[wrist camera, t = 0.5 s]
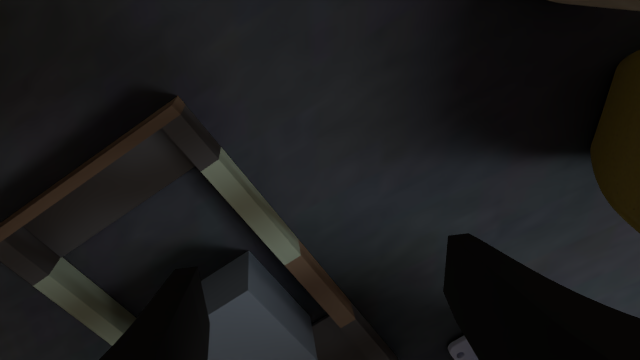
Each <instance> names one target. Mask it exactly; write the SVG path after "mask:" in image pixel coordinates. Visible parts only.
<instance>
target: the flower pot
mask: <svg viewBox="0 0 640 360" xmlns="http://www.w3.org/2000/svg"><path fill="white" fill-rule="evenodd" d="M590 154H591V161H592V167H593V171H594V174H595V177H596V180H597V183H598V185H599V187H600V189H601V191H602V193H603V195H604V196H605V198H606V199H607V201H608V202H609V204H610V205H611V206H612V208H613V209H614V210H615V211H616V212H617V213H618V214H619V215H620V216H621V217H622V218H623V219H624V220H625V221H626V222H627V223H628V224H630V225H631V226H632V227H633V228H634V229H635V230H636V231H638V232H639V233H640V50H638V51H636V52H634V53H632V54H630V55H629V56H627V57H626V58H624V59H623V60H622V61H621V62H620V63H619V64H618V66H617V68H616V70H615V73H614V77H613V80H612V83H611V86H610V89H609V92H608V96H607V99H606V102H605V105H604V108H603V111H602V114H601V117H600V120H599V123H598V126H597V129H596V132H595V135H594V138H593V141H592V144H591V148H590Z"/></svg>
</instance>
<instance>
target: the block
mask: <svg viewBox="0 0 640 360" xmlns="http://www.w3.org/2000/svg"><path fill="white" fill-rule="evenodd" d="M201 284H202V289H203V293H204V298H205V303H206V307H207V312H208V316H209V321H210V332H209V350H208V360H317V354H316V348H315V342H314V336H313V330H312V324H311V317H310V316H309V315H308V313H307V312H306V311H305V310H304V309H303V308H302V307H301V306H300V305H299V304H298V303H297V302H296V301H295V300H294V298H293V297H292V296H291V295H290V294H289V293H288V292H287V291H286V290H285V289H284V288H283V287H282V286H281V284H280V283H279V282H278V281H277V280H276V279H275V278H274V277H273V276H272V275H271V274H270V273H269V272H268V271H267V269H266V268H265V267H264V266H263V265H262V264H261V263H260V262H259V261H258V260H257V259H256V258H255V257H254V255H253V254H252V253H251V252H250V251H247V252H246V253H244V254H242V255H241V256H239V257H238V258H236V259H235V260H233V261H232V262H230V263H228V264H227V265H225V266H224V267H222V268H221V269H219V270H217V271H216V272H214V273H213V274H211V275H210V276H208V277H207V278H205V279H203V280H202V281H201Z"/></svg>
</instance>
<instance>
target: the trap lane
mask: <svg viewBox="0 0 640 360" xmlns="http://www.w3.org/2000/svg"><path fill="white" fill-rule="evenodd" d="M195 166H196V167H197V168H198V169H199V170H200V171H201V173H202V174H203V175H204V176H205V177H206V178H207V179H208V180H209V181H210V183H211V184H212V185H213V186H214V187H215V188H216V189H217V190H218V192H219V193H220V194H221V195H222V196H223V197H224V198H225V199H226V200H227V202H228V203H229V204H230V205H231V206H232V207H233V208H234V209H235V211H236V212H237V213H238V214H239V215H240V216H241V217H242V218H243V220H244V221H245V222H246V223H247V224H248V225H249V226H250V227H251V228H252V230H253V231H254V232H255V233H256V234H257V235H258V236H259V237H260V239H261V240H262V241H263V242H264V243H265V244H266V245H267V246H268V247H269V249H270V250H271V251H272V252H273V253H274V254H275V255H276V256H277V258H278V259H279V260H280V261H281V262H282V263H283V264H284V265H285V266H286V268H287V269H288V270H289V271H290V272H291V273H292V274H293V275H294V277H295V278H296V279H297V280H298V281H299V282H300V283H301V284H302V286H303V287H304V288H305V289H306V290H307V291H308V292H309V293H310V294H311V296H312V297H313V298H314V299H315V300H316V301H317V302H318V303H319V305H320V306H321V307H322V308H323V309H324V310H325V311H326V312H327V313H328V315H326V316H325V317H323V318H321V319H320V320H318V321H316V322H315V323H313V324H312V330H313V336H314V342H315V348H316V354H317V360H398V358H397V356H396V355H395V354H394V353H393V352H392V350H391V349H390V348H389V347H388V346H387V344H386V343H385V342H384V341H383V340H382V338H381V337H380V336H379V335H378V334H377V332H376V331H375V330H374V329H373V328H372V326H371V325H370V324H369V323H368V322H367V321H366V319H365V318H364V317H363V316H362V315H361V313H360V312H359V311H358V310H357V309H356V307H355V306H354V305H353V304H352V303H351V301H350V300H349V299H348V298H347V297H346V295H345V294H344V293H343V292H342V291H341V290H340V288H339V287H338V286H337V285H336V284H335V282H334V281H333V280H332V279H331V278H330V276H329V275H328V274H327V273H326V272H325V270H324V269H323V268H322V267H321V266H320V264H319V263H318V262H317V261H316V260H315V259H314V257H313V256H312V255H311V254H310V253H309V251H308V250H307V249H306V248H305V247H304V245H303V244H302V243H301V242H300V241H299V239H298V238H297V237H296V236H295V235H294V233H293V232H292V231H291V230H290V229H289V228H288V226H287V225H286V224H285V223H284V222H283V220H282V219H281V218H280V217H279V216H278V214H277V213H276V212H275V211H274V210H273V208H272V207H271V206H270V205H269V204H268V202H267V201H266V200H265V199H264V198H263V197H262V195H261V194H260V193H259V192H258V191H257V189H256V188H255V187H254V186H253V185H252V183H251V182H250V181H249V180H248V179H247V177H246V176H245V175H244V174H243V173H242V171H241V170H240V169H239V168H238V167H237V166H236V164H235V163H234V162H233V161H232V160H231V158H230V157H229V156H228V155H227V154H226V152H225V151H224V150H223V149H222V148H221V146H220V145H219V144H218V143H217V142H216V141H215V139H214V138H213V137H212V136H211V135H210V133H209V132H208V131H207V130H206V129H205V127H204V126H203V125H202V124H201V123H200V121H199V120H198V119H197V118H196V117H195V115H194V114H193V113H192V112H191V111H190V110H189V108H188V107H187V106H186V105H185V104H184V102H183V101H182V100H181V99H180V98H179V96H177V97H175V98H174V99H173V100H171V101H170V102H169V103H167V104H166V105H164V106H163V107H162V108H160V109H159V110H157V111H156V112H155V113H153V114H152V115H150V116H149V117H148V118H146V119H145V120H143V121H142V122H141V123H139V124H138V125H136V126H135V127H134V128H132V129H131V130H129V131H128V132H127V133H125V134H124V135H122V136H121V137H120V138H118V139H117V140H115V141H114V142H113V143H111V144H110V145H108V146H107V147H106V148H104V149H103V150H101V151H100V152H99V153H97V154H96V155H95V156H93V157H92V158H90V159H89V160H88V161H86V162H85V163H83V164H82V165H81V166H79V167H78V168H76V169H75V170H74V171H72V172H71V173H69V174H68V175H67V176H65V177H64V178H62V179H61V180H60V181H58V182H57V183H55V184H54V185H53V186H51V187H50V188H48V189H47V190H46V191H44V192H43V193H41V194H40V195H39V196H37V197H36V198H34V199H33V200H32V201H30V202H29V203H27V204H26V205H25V206H23V207H22V208H21V209H19V210H18V211H16V212H15V213H14V214H12V215H11V216H9V217H8V218H7V219H5V220H4V221H2V222H1V223H0V261H1V262H2V263H3V264H4V265H6V266H7V267H8V268H10V269H11V270H12V271H14V272H15V273H16V274H18V275H19V276H20V277H22V278H23V279H24V280H26V281H27V282H28V283H30V284H31V285H32V286H34V287H35V288H36V289H38V290H39V291H40V292H42V293H43V294H44V295H46V296H47V297H48V298H50V299H51V300H52V301H54V302H55V303H56V304H57V305H59V306H60V307H61V308H63V309H64V310H65V311H67V312H68V313H69V314H71V315H72V316H73V317H75V318H76V319H77V320H79V321H80V322H81V323H83V324H84V325H85V326H87V327H88V328H89V329H91V330H92V331H93V332H95V333H96V334H97V335H99V336H100V337H101V338H103V339H104V340H105V341H107V342H108V343H109V344H110V345H112V346H113V345H114V344H115V342H116V341H117V340H118V339H119V338H120V337H121V336H122V335H123V334H124V332H125V331H126V330H127V329H128V328H129V327H130V326H131V324H132V323H133V322H134V321H135V320H136V317H135V316H133V315H132V314H131V313H130V312H129V311H127V310H126V309H125V308H124V307H122V306H121V305H120V304H119V303H118V302H116V301H115V300H114V299H113V298H111V297H110V296H109V295H108V294H107V293H105V292H104V291H103V290H102V289H100V288H99V287H98V286H97V285H96V284H94V283H93V282H92V281H91V280H89V279H88V278H87V277H86V276H85V275H83V274H82V273H81V272H80V271H78V270H77V269H76V268H75V267H74V266H72V265H71V264H70V263H69V262H67V261H66V260H65V259H64V258H63V256H65V255H66V254H68V253H69V252H71V251H72V250H74V249H75V248H77V247H78V246H79V245H81V244H82V243H84V242H85V241H87V240H88V239H90V238H91V237H93V236H94V235H96V234H97V233H98V232H100V231H101V230H103V229H104V228H106V227H107V226H109V225H110V224H112V223H113V222H115V221H116V220H117V219H119V218H120V217H122V216H123V215H125V214H126V213H128V212H129V211H131V210H132V209H133V208H135V207H136V206H138V205H139V204H141V203H142V202H144V201H145V200H147V199H148V198H150V197H151V196H152V195H154V194H155V193H157V192H158V191H160V190H161V189H163V188H164V187H166V186H167V185H169V184H170V183H171V182H173V181H174V180H176V179H177V178H179V177H180V176H182V175H183V174H185V173H186V172H188V171H189V170H190V169H192V168H193V167H195Z"/></svg>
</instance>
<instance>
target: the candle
mask: <svg viewBox="0 0 640 360" xmlns="http://www.w3.org/2000/svg"><path fill="white" fill-rule="evenodd" d="M548 1H551V2H555V3H563V4H571V5H582V6H592V7H602V8H613V9H623V10H633V11H640V0H548Z"/></svg>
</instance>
